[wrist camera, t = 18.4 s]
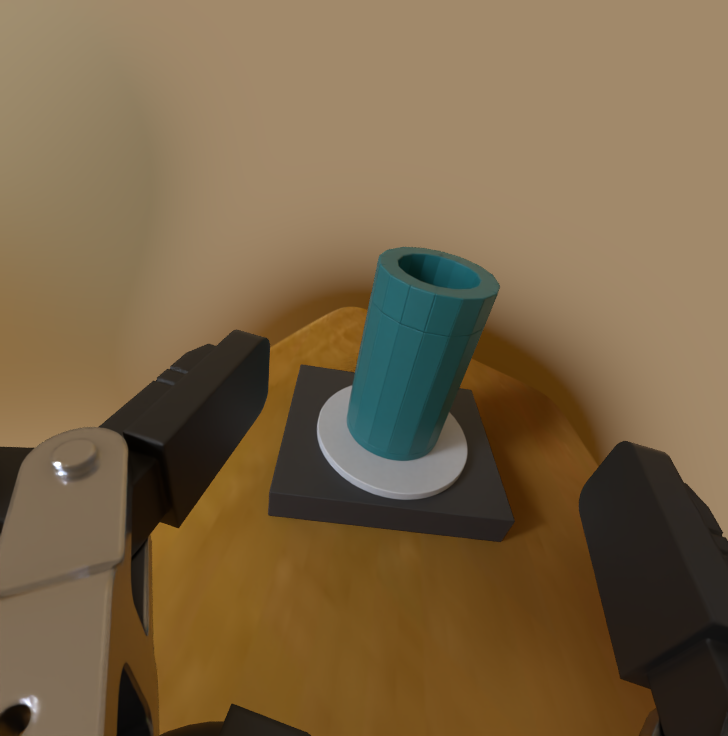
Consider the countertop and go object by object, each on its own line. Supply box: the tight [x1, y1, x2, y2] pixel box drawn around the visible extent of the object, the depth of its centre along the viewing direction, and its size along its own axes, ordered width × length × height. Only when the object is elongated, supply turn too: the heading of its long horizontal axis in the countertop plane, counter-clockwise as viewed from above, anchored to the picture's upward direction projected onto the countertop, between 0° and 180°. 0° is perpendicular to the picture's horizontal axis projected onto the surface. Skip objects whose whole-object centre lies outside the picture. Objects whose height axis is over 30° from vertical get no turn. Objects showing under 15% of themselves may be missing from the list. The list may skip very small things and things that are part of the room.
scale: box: [268, 365, 515, 542], centre depth 27 cm, size 14×12×3 cm
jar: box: [347, 247, 500, 461], centre depth 23 cm, size 6×6×11 cm
